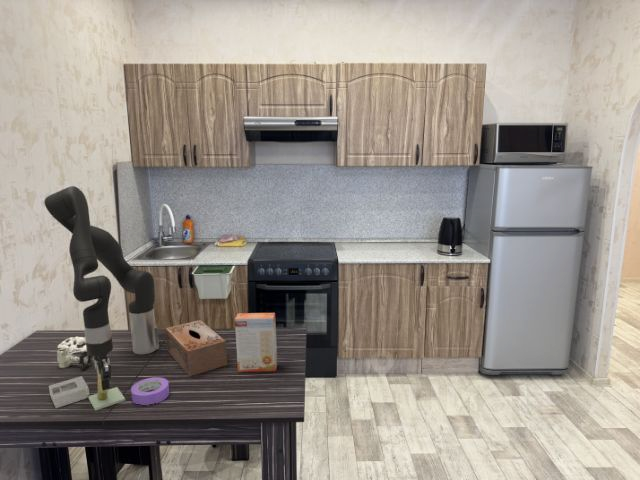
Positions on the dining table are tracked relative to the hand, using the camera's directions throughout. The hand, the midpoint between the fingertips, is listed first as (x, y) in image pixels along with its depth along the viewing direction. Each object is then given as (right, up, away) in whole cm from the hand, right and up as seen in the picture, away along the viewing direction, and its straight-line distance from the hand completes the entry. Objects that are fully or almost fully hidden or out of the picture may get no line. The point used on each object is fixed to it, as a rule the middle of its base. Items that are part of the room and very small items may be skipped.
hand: (104, 386), depth 147 cm
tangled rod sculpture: (-29, +3, +38) cm, 48 cm away
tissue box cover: (+22, +2, +29) cm, 37 cm away
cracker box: (+47, 0, +20) cm, 51 cm away
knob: (-1, -4, 0) cm, 4 cm away
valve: (-23, 0, +24) cm, 33 cm away
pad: (0, -4, +1) cm, 5 cm away
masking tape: (+14, -4, +3) cm, 15 cm away
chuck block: (-13, -4, +3) cm, 14 cm away
